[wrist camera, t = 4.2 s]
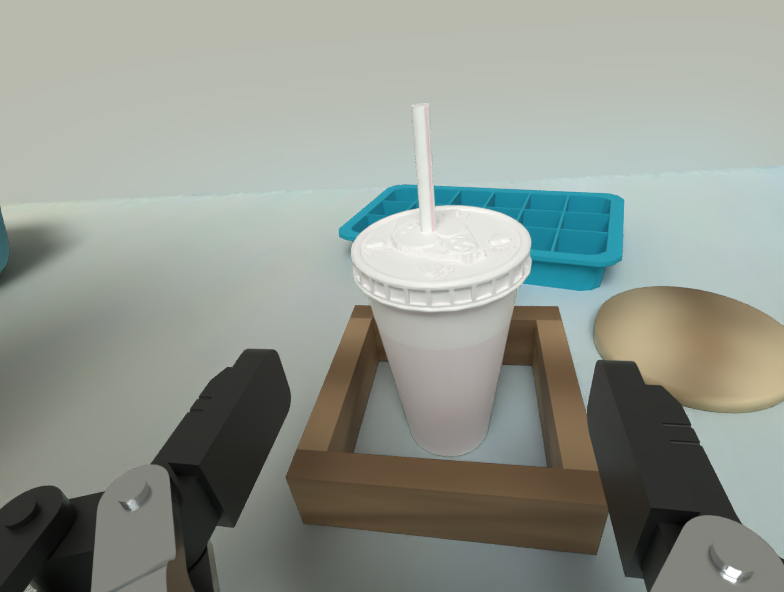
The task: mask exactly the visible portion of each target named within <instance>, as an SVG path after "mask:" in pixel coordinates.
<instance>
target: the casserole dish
mask: <svg viewBox="0 0 784 592" xmlns="http://www.w3.org/2000/svg"><path fill="white" fill-rule="evenodd" d="M8 257H9V242H8V237H7V232H6V228H5V224H4V221H3V217H2V213H1V208H0V273H1V272H2V270H3V269H4V267H5V266H6V264H7V261H8Z"/></svg>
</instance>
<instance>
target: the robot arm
mask: <svg viewBox="0 0 784 592" xmlns="http://www.w3.org/2000/svg"><path fill="white" fill-rule="evenodd" d="M290 403H291V393H290V388H289V385H288V382H287V379H286V376H285V373H284V370H283V367H282V364H281V361H280V358H279V355H278V353H277V351H276V350H273V349H246V350H244V351H243V353H242V354H241V355H240V357H239V358H238V360H237V361H236V363H235V364H234V366H233V367H227V368H225V369H224V370H223V371H222V372H220V373H219V374H218V375H217V376H215V377H214V378H213V379H212V380H210V382H209V383H208V385H207V386H206V387H205V389H204V390H203V392H202V393H201V394H200V396H199V399H197V400H196V401H195V403H194V404H193V406H192V407H191V408H190V412H187V414H186V415H185V417H184V418H183V419H182V421H181V422H180V424H179V425H178V426H177V428H176V429H175V431H174V432H173V433H172V435H171V436H170V438H169V439H168V440H167V442H166V443H165V445H164V446H163V447H162V449H161V450H160V452H159V453H158V454H157V456H156V457H155V459H154V460H153V461H152V463H151V464H150V465H144V466H140V467H137V468H135V469H132V470H130V471H128V472H127V473H125V474H123V475H122V476H121V477H119V478H118V479H117V480H116V481H114V482H113V483H112V484H111V485H110V486H109V487H108V489H107V490H106V491H104V492H100V493H95V494H91V495H86V496H82V497H77V498H72V499H68V498H67V497H66V496H65V495H64V494H63V492H62V491H61V490H60V489H59V488H57V487H55V486H41V487H37V488H34V489H31V490H29V491H26V492H24V493H22V494H21V495H19V496H17V497H16V498H14V499H12V500H11V501H10V502H8V503H7V504H6V505H5V506H4V507H2V508H1V509H0V592H24V590H25V589H26V587H27V586H28V585H29V584H30V585H31V586H32V587H33V588H35V589H36V590H37V592H220V589H219V583H218V576H217V570H216V564H215V558H214V552H213V546H212V542H211V540H210V537H211V535H212V533H213V531H214V529H215V527H216V526H223V527H231V528H234V527H235V525H236V523H237V521H238V518H239V516H240V514H241V512H242V510H243V508H244V506H245V503H246V501H247V499H248V497H249V495H250V493H251V491H252V489H253V486H254V484H255V482H256V480H257V478H258V476H259V474H260V472H261V469H262V467H263V465H264V463H265V461H266V459H267V457H268V454H269V452H270V450H271V448H272V446H273V444H274V442H275V440H276V437H277V435H278V433H279V431H280V429H281V427H282V425H283V422H284V420H285V418H286V416H287V414H288V411H289V408H290ZM587 423H588V430H589V435H590V439H591V443H592V447H593V451H594V455H595V459H596V463H597V467H598V471H599V475H600V479H601V483H602V487H603V491H604V495H605V499H606V503H607V506H608V510H609V514H610V518H611V522H612V526H613V530H614V534H615V538H616V542H617V546H618V550H619V554H620V558H621V562H622V566H623V570H624V574H625V577H633V578H641V579H644V581H645V585H646V589H647V592H784V559H782V558H780V557H779V556H778V555H777V553H776V552H775V551H774V550H773V549H772V548H771V546H770V545H769V544H768V543H767V542H766V541H764V540H763V539H762V538H761V537H760V536H759V535H757V534H756V533H755V532H753V531H752V530H750V529H749V528H747V527H745V526H743V524H742V523H741V522H740V520H739V518H738V517H737V515H736V513H735V511H734V509H733V507H732V505H731V503H730V501H729V499H728V497H727V495H726V493H725V491H724V489H723V487H722V485H721V483H720V481H719V479H718V477H717V475H716V473H715V471H714V469H713V467H712V465H711V463H710V461H709V459H708V457H707V455H706V453H705V451H704V449H703V447H702V446H700V441H699V439H698V437H697V435H696V433H695V431H694V429H693V428H691V423H690V421H689V419H688V417H687V415H686V413H685V411H684V409H683V407H682V405H681V403H680V402H679V401H678V400H677V399H676V398H675V397H673V396H672V395H671V394H670V393H669V392H668V391H667V390H666V389H665V388H664V387H663V386H662V385H646V384H645V382H644V380H643V377H642V375H641V373H640V370H639V368H638V366H637V364H636V363H635V362H634V361H618V360H598V361H597V362H596V365H595V370H594V375H593V380H592V385H591V390H590V395H589V401H588V406H587Z"/></svg>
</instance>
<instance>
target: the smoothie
mask: <svg viewBox="0 0 784 592" xmlns="http://www.w3.org/2000/svg"><path fill="white" fill-rule="evenodd" d="M411 109H412V121H413V133H414V134H413V135H414V147H415V160H416V173H417V186H418V199H419V208H417V209H412V210H407V211H403V212H400V213H397V214H393V215H390V216H388V217H386V218H383V219H381V220H379V221H377V222H375V223H373V224H372V225H370V226H368V227H367V228H366V229H365V230H363V231H362V232H361V233H360V234H359V235H358V236H357V238H356V239H355V240H354V242H353V244H352V247H351V257H352V261H353V266H354V267H353V271H352V272H353V276H354V280H355V283H356V285H357V286H358V287H359V288H360V289H361V290H362V291H363V293H364V294H365V295H367V296H368V297H369V301H370V304H371V308H372V311H373V315H374V318H375V321H376V323H377V326H378V330H379V333H380V336H381V339H382V342H383V345H384V349H385V352H386V355H387V358H388V361H389V365H390V368H391V371H392V374H393V377H394V380H395V384H396V387H397V390H398V393H399V396H400V400H401V403H402V406H403V409H404V412H405V415H406V419H407V422H408V425H409V428H410V431H411V434H412V436H413V438H414V440H415V441H416V442H417V444H418V445H419V446H421V447H422V448H423V449H425V450H426V451H428V452H430V453H433V454H436V455H440V456H459V455H463V454H466V453H469V452H471V451H473V450H474V449H476V448H477V447H478V446H479V445H480V444H481V443H482V442H483V441H484V439H485V437H486V435H487V432H488V427H489V422H490V418H491V413H492V408H493V403H494V398H495V394H496V389H497V384H498V379H499V374H500V370H501V365H502V360H503V355H504V350H505V346H506V341H507V336H508V331H509V326H510V322H511V317H512V314H513V309H514V303H515V298H516V293H517V288H519V287H520V286H521V285H522V283H523V282H524V281H525V279H526V278H527V277H528V275H529V274H530V270H531V263H532V259H531V257H530V248H531V238H530V235H529V233H528V231H527V230H526V228H525V227H524V226H523V225H522V224H521V223H519V222H518V221H516V220H515V219H513V218H512V217H509V216H507V215H505V214H503V213H500V212H496V211H493V210H490V209H485V208H479V207H472V206H460V205H444V206H435V198H434V180H433V164H432V146H431V127H430V110H429V104H426V103H425V104H424V103H422V104H415V105H412V106H411Z"/></svg>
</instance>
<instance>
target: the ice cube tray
mask: <svg viewBox="0 0 784 592" xmlns="http://www.w3.org/2000/svg"><path fill="white" fill-rule="evenodd" d="M434 198H435V206H444V205H460V206H472V207H479V208H485V209H490V210H493V211H496V212H500V213H503V214H505V215H507V216H509V217H512V218H513V219H515V220H516V221H518V222H519V223H521V224H522V225H523V226H524V227H525V228H526V230H527V231H528V233H529V235H530V238H531V248H530V257H531V259H532V263H531V270H530V274H529V275H528V277H527V278H526V279H525V281H524V282H523V284H531V285H539V286H547V287H555V288H563V289H570V290H578V291H583V290H593V289H595V288H597V287H600V284H601V281H602V277H603V274H604V271H605V267H606V266H612V265H614V264H616V263H618V262H619V261H621V260H622V252H623V221H624V199H623V198H621V197H619V196H617V195H613V194H609V193H586V192H564V191H541V190H519V189H496V188H474V187H451V186H434ZM417 208H419V199H418V186H417V185H396V186H392V187H389V188H387V189H386V190H385V191H384V192H382V193H381V194H380V195H379V196H378V197H376V198H375V199H374V200H373V201H372V202H370V203H369V204H368V205H367V206H366V207H364V208H363V209H362V210H361V211H360V212H359V213H357V214H356V215H355V216H354V217H353V218H351V219H350V220H349V221H348V222H347V223H345V224H344V225H343V226H342V227H341V228H339V236H340V237H341V238H343V239H345V240H349V241H353V242H354V240H355V239H356V238H357V236H358V235H359V234H360V233H361V232H362V231H363V230H365V229H366V228H367V227H368V226H370V225H372V224H373V223H375V222H377V221H379V220H381V219H383V218H386V217H388V216H390V215H393V214H397V213H400V212H403V211H407V210H412V209H417Z"/></svg>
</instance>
